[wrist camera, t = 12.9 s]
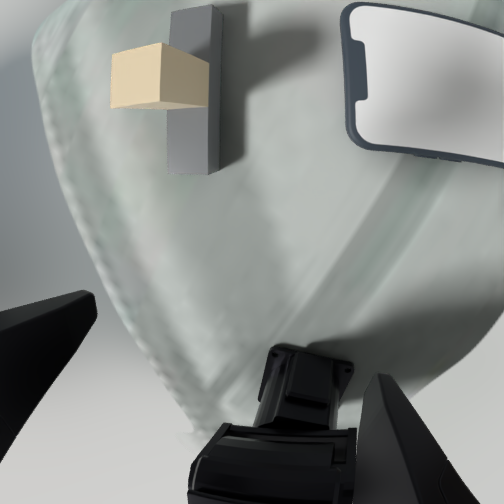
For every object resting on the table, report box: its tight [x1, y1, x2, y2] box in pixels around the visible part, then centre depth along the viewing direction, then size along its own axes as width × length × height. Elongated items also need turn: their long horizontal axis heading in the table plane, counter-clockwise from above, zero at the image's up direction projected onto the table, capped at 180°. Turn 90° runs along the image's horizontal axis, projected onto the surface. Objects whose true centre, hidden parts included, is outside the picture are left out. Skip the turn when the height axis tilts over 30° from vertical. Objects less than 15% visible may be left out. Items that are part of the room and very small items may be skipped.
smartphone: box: [340, 2, 504, 169], centre depth 12 cm, size 9×2×16 cm
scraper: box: [110, 5, 223, 175], centre depth 13 cm, size 10×2×7 cm, turn 179°
